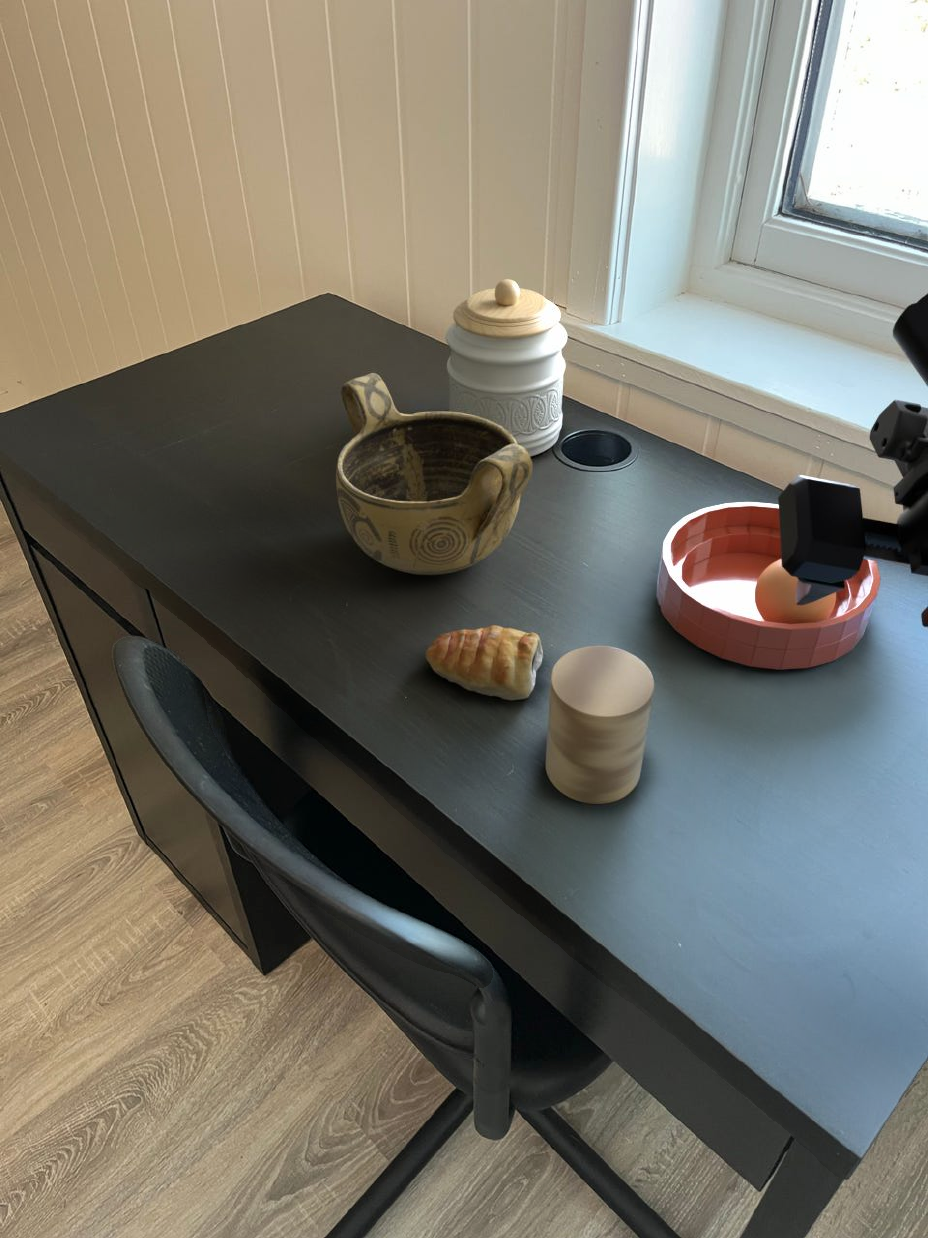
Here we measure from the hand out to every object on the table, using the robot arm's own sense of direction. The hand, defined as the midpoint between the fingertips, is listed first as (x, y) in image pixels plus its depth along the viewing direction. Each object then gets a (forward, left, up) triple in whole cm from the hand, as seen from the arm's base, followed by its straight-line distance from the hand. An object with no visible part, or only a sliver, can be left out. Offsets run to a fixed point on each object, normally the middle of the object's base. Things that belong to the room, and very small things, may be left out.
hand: (861, 609), depth 65 cm
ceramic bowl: (+38, -8, -12) cm, 40 cm away
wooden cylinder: (+15, +11, -12) cm, 22 cm away
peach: (+5, -9, -11) cm, 15 cm away
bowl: (+8, -13, -12) cm, 19 cm away
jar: (+41, -32, -12) cm, 53 cm away
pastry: (+26, +5, -12) cm, 29 cm away
